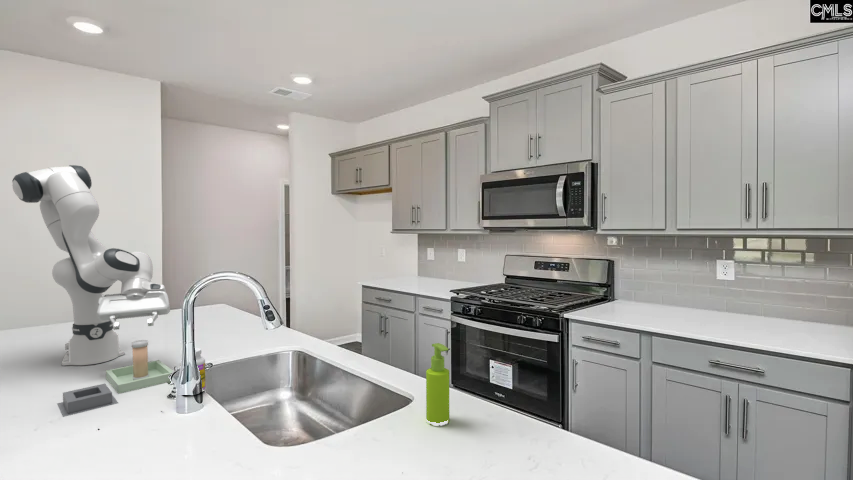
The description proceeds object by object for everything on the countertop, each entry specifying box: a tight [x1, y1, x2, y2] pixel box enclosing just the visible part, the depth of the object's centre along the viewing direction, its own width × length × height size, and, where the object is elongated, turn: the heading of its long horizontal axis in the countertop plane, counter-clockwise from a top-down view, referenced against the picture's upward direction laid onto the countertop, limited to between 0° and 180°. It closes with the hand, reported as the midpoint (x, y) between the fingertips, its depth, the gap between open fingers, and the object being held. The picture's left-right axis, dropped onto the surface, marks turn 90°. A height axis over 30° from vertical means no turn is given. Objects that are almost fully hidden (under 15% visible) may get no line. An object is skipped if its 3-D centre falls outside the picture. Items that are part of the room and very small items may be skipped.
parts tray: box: [105, 359, 174, 394], centre depth 141 cm, size 18×15×4 cm
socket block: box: [56, 383, 119, 418], centre depth 123 cm, size 12×12×4 cm
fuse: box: [131, 339, 149, 381], centre depth 141 cm, size 4×4×12 cm
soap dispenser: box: [425, 342, 450, 423], centre depth 112 cm, size 6×7×20 cm
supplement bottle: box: [179, 347, 207, 392], centre depth 132 cm, size 7×7×13 cm
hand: (133, 326), depth 144 cm, fingers open, 8 cm apart
